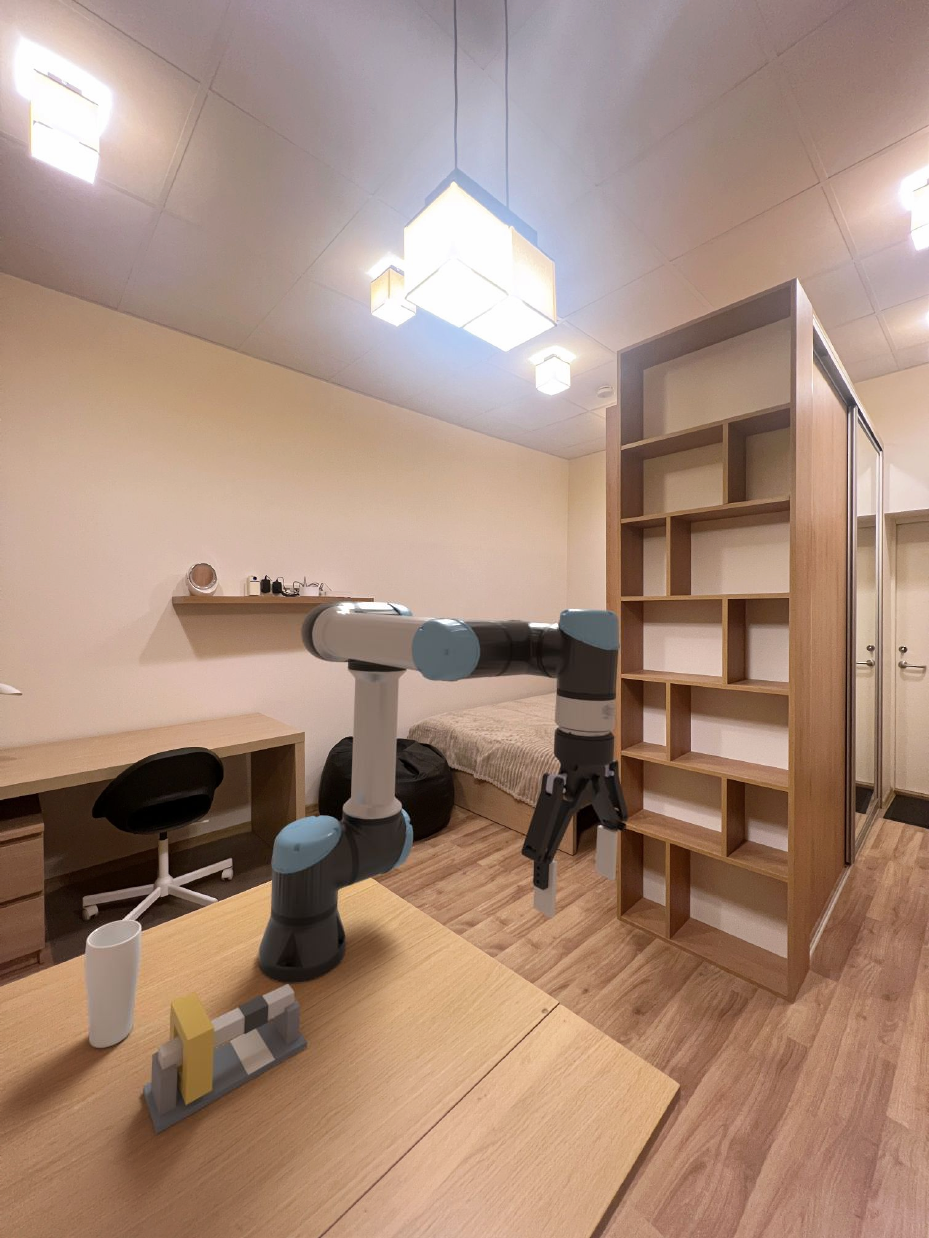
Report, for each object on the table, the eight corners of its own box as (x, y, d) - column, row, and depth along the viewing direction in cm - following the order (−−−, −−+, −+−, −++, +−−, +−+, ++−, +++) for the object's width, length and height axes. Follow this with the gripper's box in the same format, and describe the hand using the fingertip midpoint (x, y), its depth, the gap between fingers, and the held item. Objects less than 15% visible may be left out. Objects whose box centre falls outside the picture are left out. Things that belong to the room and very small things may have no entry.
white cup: (149, 1027, 76) (152, 927, 76) (100, 1062, 70) (104, 953, 70) (120, 1010, 79) (123, 914, 79) (71, 1043, 73) (74, 938, 73)
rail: (143, 1092, 66) (145, 1036, 66) (285, 1017, 79) (287, 970, 79) (156, 1134, 61) (158, 1073, 61) (306, 1046, 74) (308, 997, 74)
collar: (168, 1061, 69) (170, 1001, 69) (193, 1048, 71) (195, 991, 71) (185, 1104, 63) (188, 1040, 63) (212, 1090, 65) (214, 1027, 65)
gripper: (547, 750, 55) (538, 947, 55) (658, 723, 72) (650, 873, 72) (496, 736, 60) (488, 915, 61) (610, 713, 77) (603, 853, 78)
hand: (576, 892), depth 66 cm, fingers open, 13 cm apart
